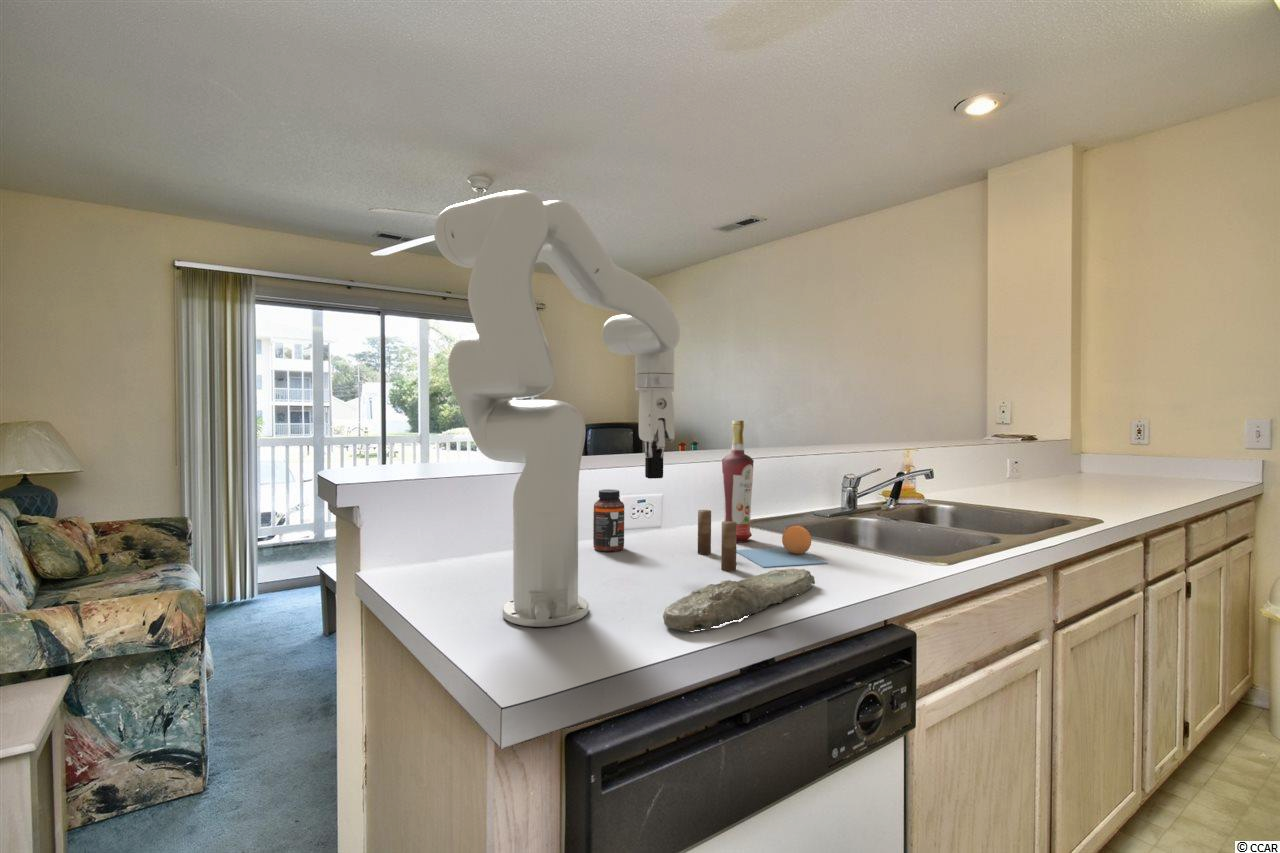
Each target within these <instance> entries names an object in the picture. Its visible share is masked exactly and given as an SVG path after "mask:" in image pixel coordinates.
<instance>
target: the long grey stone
mask: <svg viewBox="0 0 1280 853" xmlns="http://www.w3.org/2000/svg"><path fill="white" fill-rule="evenodd" d="M815 584H816V580H815V576H814V575H812V574H811V571H810V570H806V569H805V568H801V569H798V568H787V569H773V570H770V571H768V572H765V573H760V574H756V575H752V576H750V577H745V579H744V578H743V579H741V580H738V581H736V580H730V579H728V580H723V581H722V580H721V581H720V583H717V584H712V583H711V584H709V585H708V584H707V585H706V586H705V587H702V588H700V589H697V590H692V591H691V593H690V594H688V595H687V596H686V595H685V596H684V597H682V598H680V599H678V600H677V599H676V601H675V602H673V603H671V604H670V605H669V606H667V607H665V609H664V611H663V615H662V619H663V623H664V624H663V625H664V626H665V627H666V628H667V627H668V628H670V629H672V630H678V631H682V632H683V631H687V632H689V631H694V630H701V629H707V630H711V629H710V628H711V627H713V626H719V625H720V624H723V623H725V622H730V621H733V620H739V619H741V618H743V617H744V616H748V615H750V614H753V613H756V612H758V613H760V612H763V611H764V610H765V609H767V608H768V607H769V606H770V605H775V604H777V603H780V604H781V603H782V602H783V601H785V600H787V599H790V597H791V598H794V597H793V596H795V597H797V596H798V595H797V594H800V593H803V592H804V593H805V592H807V591H808V590H809V589H810V590H811V586H812V585H815ZM804 593H803V594H804ZM796 595H797V596H796ZM800 595H801V594H800ZM763 609H764V610H763ZM762 610H763V611H762ZM759 611H760V612H759ZM753 615H754V614H753ZM750 616H751V615H750Z"/></svg>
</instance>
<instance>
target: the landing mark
mask: <svg viewBox="0 0 1280 853" xmlns="http://www.w3.org/2000/svg"><path fill="white" fill-rule="evenodd" d="M736 554H739V555H740V556H742V557H744V558H745V559H747V560H750V561H751V562H752V563H754V564H756V565H758V566H760V567H762V568H777V567H780V568H781V567H794V566H795V567H796V566H809V565H810V566H812V565H824V564H825V565H826V564H827V565H828V564H829V562H828V561H826V560H823V559H821V558H818V557H817V556H814V555H812V554H810V553H808V552H807V551H806V552H805V553H803V554H792V553H790V552H788V551H787V550H786V549H785V547H784V546H783V547H780V546H779V547H766V548H764V547H763V548H748V549H746V548H745V549H736Z"/></svg>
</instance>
